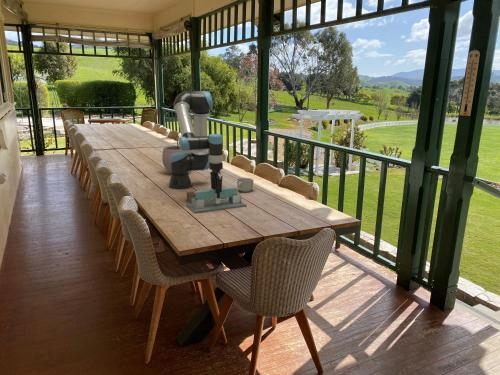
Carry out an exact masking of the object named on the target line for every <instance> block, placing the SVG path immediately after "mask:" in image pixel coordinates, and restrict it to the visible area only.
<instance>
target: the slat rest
mask: <svg viewBox="0 0 500 375" xmlns="http://www.w3.org/2000/svg"><path fill="white" fill-rule="evenodd" d="M191 197H195V192H194V191H187V192H186V201H187V202H188V204H191ZM220 200H225V198H220Z"/></svg>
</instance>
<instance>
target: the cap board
mask: <svg viewBox="0 0 500 375" xmlns="http://www.w3.org/2000/svg"><path fill="white" fill-rule="evenodd" d="M186 207H187V208H189V210H190V211H191V212H192V213H193V214H201V213H202V214H203V213H209V212H214V211H215V212H216V211H224V210H230V209H237V208H245V207H247V204H246V203H245V202H243V201H241V203H239V204H232V201H231V202H229V201H228V198H224V199H220V203H219V204H215V202H213V200H212V201H211V200H209V201H204V208H202V209H194V208H193V207H192V206H191V203H187V204H186Z"/></svg>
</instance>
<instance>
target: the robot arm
mask: <svg viewBox="0 0 500 375" xmlns="http://www.w3.org/2000/svg"><path fill="white" fill-rule="evenodd" d="M213 103H214V102H213V98H212V95H211V93H210V91H209V90H208V91H206V90H186V91H185V90H184V91H181V92H180V93H179V94H177V95H176V97H175V100H174V101H173V110H174V112H175V113H176V117H177V122H178V126H179V131H180V137H178V144H179V147H180V149H181V150H192V151H191V154H188V152H177V153H174V154H172V155H171V161H170V162H171V173H170V174H171V176H170V179H169V182H168V186H169V188H171V189H173V190H174V189H176V190H181V189H184V190H185V189H189V188H192V186H193V185H192V180H191V177H190V176H189V175H190V174H189V172H190V171H191V172H194V171H208V170H211V171H210V172H209V173H210V188H211V189H216V192H215V199H212V201H213V202H215V204H219V203H220V200H221V198H220V192H222V188H223V177H224V176H223V175H222V174H221V170H223V169H224V167H223V166H224V165H223V162H224V160H223V159H224V155H223V153H224V152H223V149H224V148H223V147H224V146H223V142H224V139H223V135H222V134H220V133H219V134H218V133H210V134H209V135H208V134H207V133H208V115H209V114H210V112H211V110H213V106H214V104H213ZM190 111H191V113H192V114H193V121H192V118H191V115H190ZM192 122H193V123H192ZM211 189H210V190H211Z"/></svg>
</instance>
